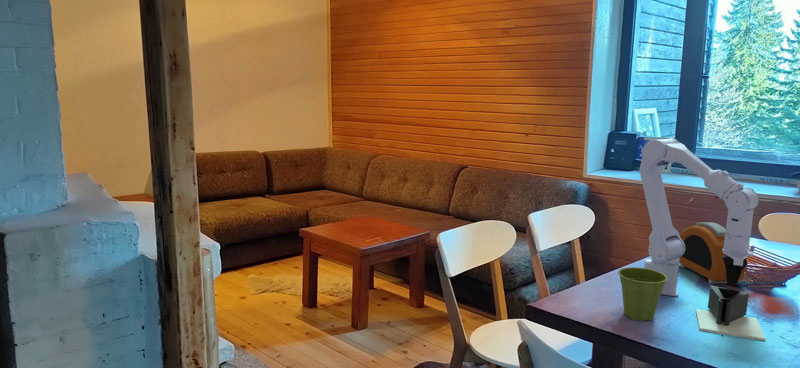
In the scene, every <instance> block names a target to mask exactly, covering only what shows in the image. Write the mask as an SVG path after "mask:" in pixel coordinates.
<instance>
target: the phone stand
mask: <svg viewBox="0 0 800 368" xmlns="http://www.w3.org/2000/svg"><path fill="white" fill-rule="evenodd" d="M749 295H750V294H749V292H747V291H741V290H737V289H730V288H725V287H720V286H715V285H709V292H708V302H707V303H708V304H707V308H708V309H709V310H708V311H711V312H712V314H713V315H714V317H715V318H716V323H717V324H719V325H720V324H721V321H722V322H724V326H729V324H730V322H732V321H734V320H736V319H739V318H741V317H743V316H744V317H746V316H747V310H748V303H749V297H750V296H749Z"/></svg>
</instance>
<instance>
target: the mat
mask: <svg viewBox="0 0 800 368" xmlns="http://www.w3.org/2000/svg"><path fill="white" fill-rule="evenodd" d="M695 313H696V319H697V323H698V330H699V331H701V332H707V333H714V334H719V335H727V336H733V337H737V338H738V337H739V338H744V339H750V340H758V341H763V342H766V336H765V333H764V332H763V330H762V328H761V325H760V323H759V321H758V319H757V318H755V317H749V316H743V317H741V318H739V319H736V320H734V321H732V322H730V324H729V326H724V322H722V321H721V324H720V325H719V324H717V323H716V318H715V317H714V315H713V314H712V312H711V311H710V310H703V309H699V308H696V309H695Z"/></svg>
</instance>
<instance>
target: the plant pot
mask: <svg viewBox="0 0 800 368" xmlns="http://www.w3.org/2000/svg"><path fill="white" fill-rule="evenodd" d="M617 275H619V277H620V279H619V282H620V284H621V292H622V293H621V294H622V303H623V304H622V305H623V306H622V307H623V314H624V316H626V317H628V318H629V319H631V320H634V321H640V322H646V321H648V320H650V321H652V320H653V319H655V315H656V311H657V308H658V305H659V301H660V297H661V295H662V294H661V291H662V289H663V287H664V283H665V282H666V281H667V280H668V277H667V276H666V275H665V274H663V273H661V272H658V271H655V270H651V269H646V268H644V267H632V266H631V267H624V268H622V267H621V269H619V270H617Z"/></svg>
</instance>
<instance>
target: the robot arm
mask: <svg viewBox="0 0 800 368" xmlns="http://www.w3.org/2000/svg"><path fill="white" fill-rule="evenodd" d="M640 151H641V161H640V165H639V174H640V179H641V184H642V189H643V191H644V197H645V203H646V207H647V210H648V211H647V212H648V215H649V220H650V223H651V227H652V228H651V229H652V230H651V232H650V235H649V236H648V241H649V246H648V254H649V256H650V258H645V259H644V263H643V264H644V265H643V266H644V267H643V268H646V269H651V270H655V271H658V272H661V273H663V274H665V275H666V276H667V277H668V280H667V281H666V282H665V283H664V287H663V289H662V291H661V294H660V295H664V296H671V297H679V290H678V289H679V288H678V279H679V278H678V277H679V269H680V263H679V262H680V257H681V256H682V255H683V254H684V252H685V244H684V242H683V241H682V239H681V238H680V232H679V231H678V230H677V228H675V227H674V225H673V222H672V218H671V213H670V209H669V208H670V207H669V204H668V200H667V195H666V191H665V185H664V182H663V178H662V173H663V171H664V170H665V168H666V167H667V166H668V165H669V164H670V163H676V164H677V163H678V164H681V165H682V166H683V167H685V168H686V169H688V170H689V171H691V172H692V173H693V174H695V175H697V176H698V177H700V178H701V179H702V180H703V185H704V187H705V188H707V189H708V190H709V191H710V192H711V193H713V195H714V194H715V196H717V197H718V198H720V199H721V200H722V201H723V202H724V204H725V207H726V208H727V218H726V224H725V225H726V227H725V229H726V233H725V240H724V248H723V250H722V252H723V253H724V254H726V255H727V256H722V258H723V261H724V264H725V270H726V281H727V283H726V284H727V286H728V285H729V286H734V287H736V286H737V285H738V282H739V281H738V280H739V277H740V275H741V273H742V271H743V269H744V268H746V267H747V265H748V261H747V258H748V257H753V256H754V252H753V251H749V248H750V241H751V233H752V228H753V227H752V226H753V220H754V219H753V217H754V212H755V211H754V209H755V208H756V207H758V205H759V202H760V197H759V195H758V193H757V192H756V191H755V190H754V189H753V188H751V187H744V186H745V185H744V184H743V183H741V182H737V181H736V180H735V179H733V178H732V177H731V176H729V174H730V173H729V172H728V171H727V170H722V169H712V168H711V167H710V166H709V165H707V164H706V163H705V162H704V161H702V160H701V159H700V158H699V157H698V156H696V155H695V154H694V153H693V152H692V151H691V150H689V148H688V147H687V146H686V145H685V144H683V143H681V142H679V140H677V139H676V138H671V137H670V138H669V137H668V138H665V139H663V138H661V139H651V140H648V141H647V142H646V143H645V145H644V146H643V147H642V149H641V150H640Z"/></svg>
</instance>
